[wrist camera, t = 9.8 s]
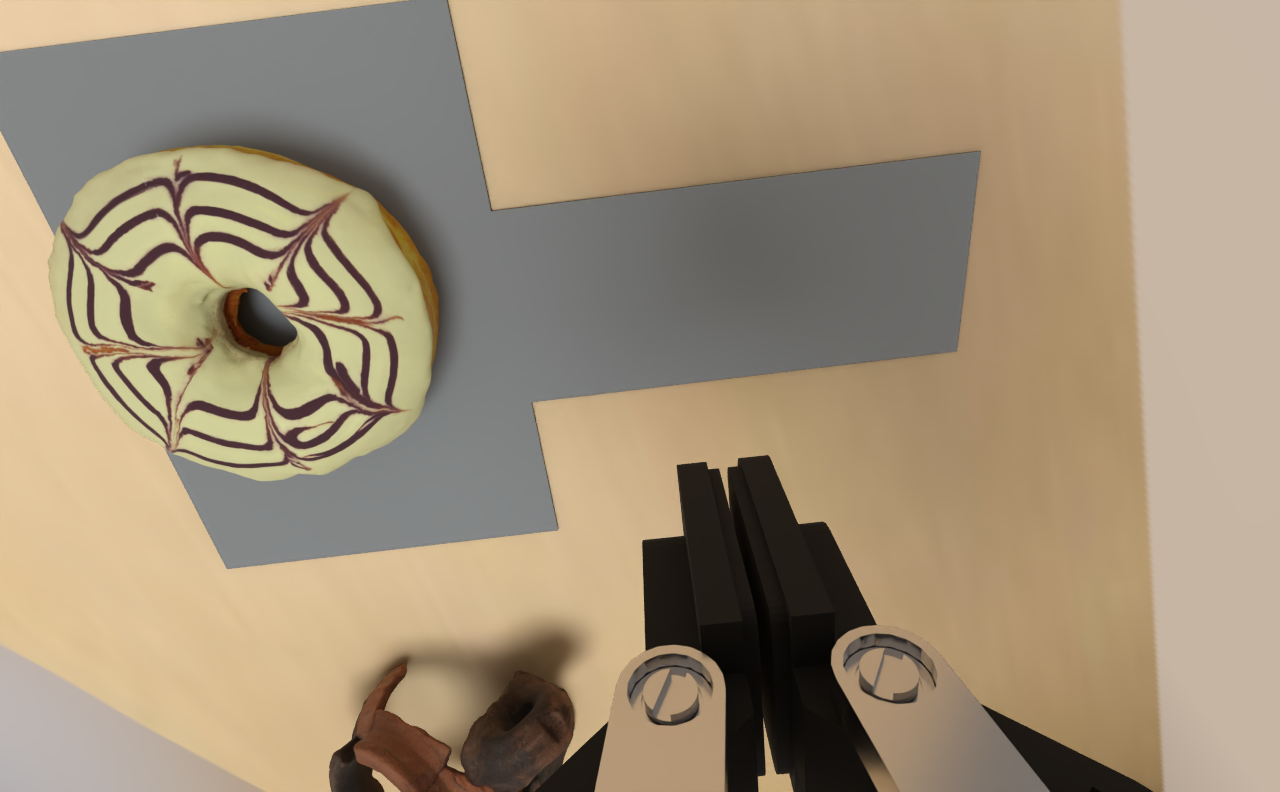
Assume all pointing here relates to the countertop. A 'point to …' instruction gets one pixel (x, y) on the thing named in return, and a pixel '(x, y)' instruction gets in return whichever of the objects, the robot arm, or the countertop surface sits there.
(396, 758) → the pottery mug
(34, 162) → the t mat
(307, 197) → the decorated donut
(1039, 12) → the countertop surface
